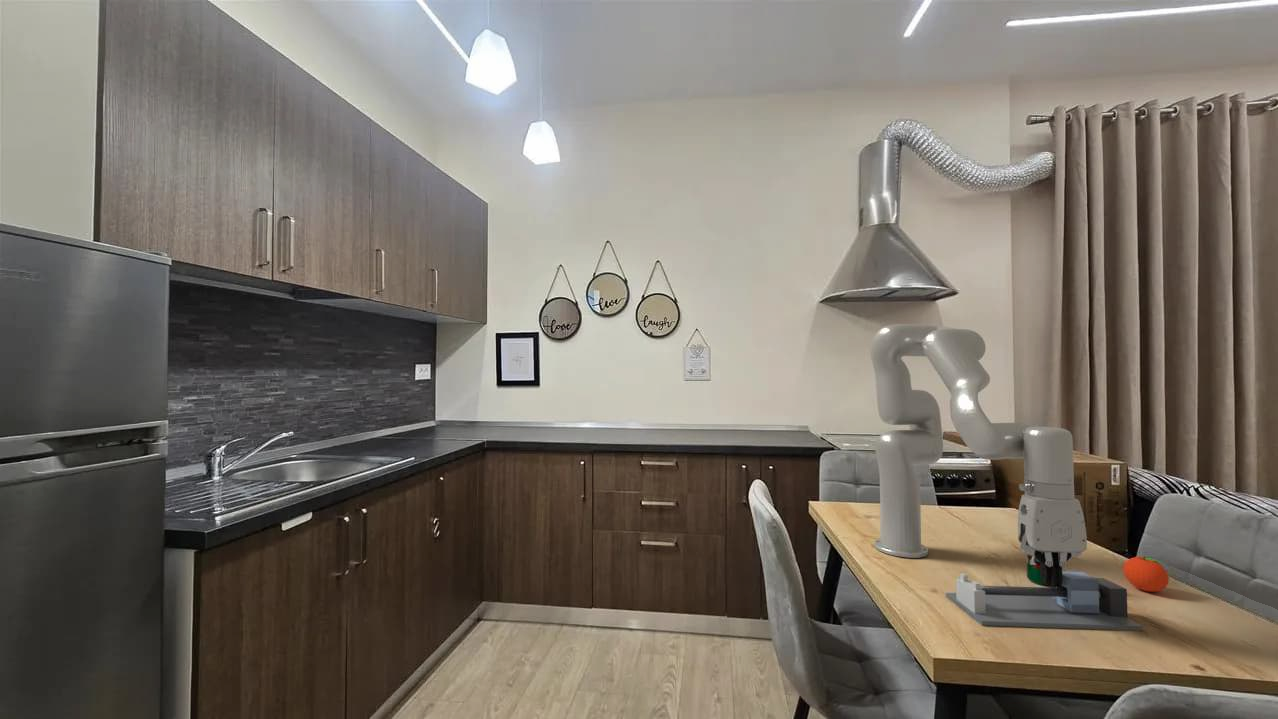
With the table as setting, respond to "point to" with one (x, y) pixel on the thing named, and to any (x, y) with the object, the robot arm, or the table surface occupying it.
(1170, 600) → the table surface
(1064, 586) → the sleeve
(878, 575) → the table surface
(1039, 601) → the linear slide rail
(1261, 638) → the table surface
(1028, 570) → the soda can
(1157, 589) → the clementine
